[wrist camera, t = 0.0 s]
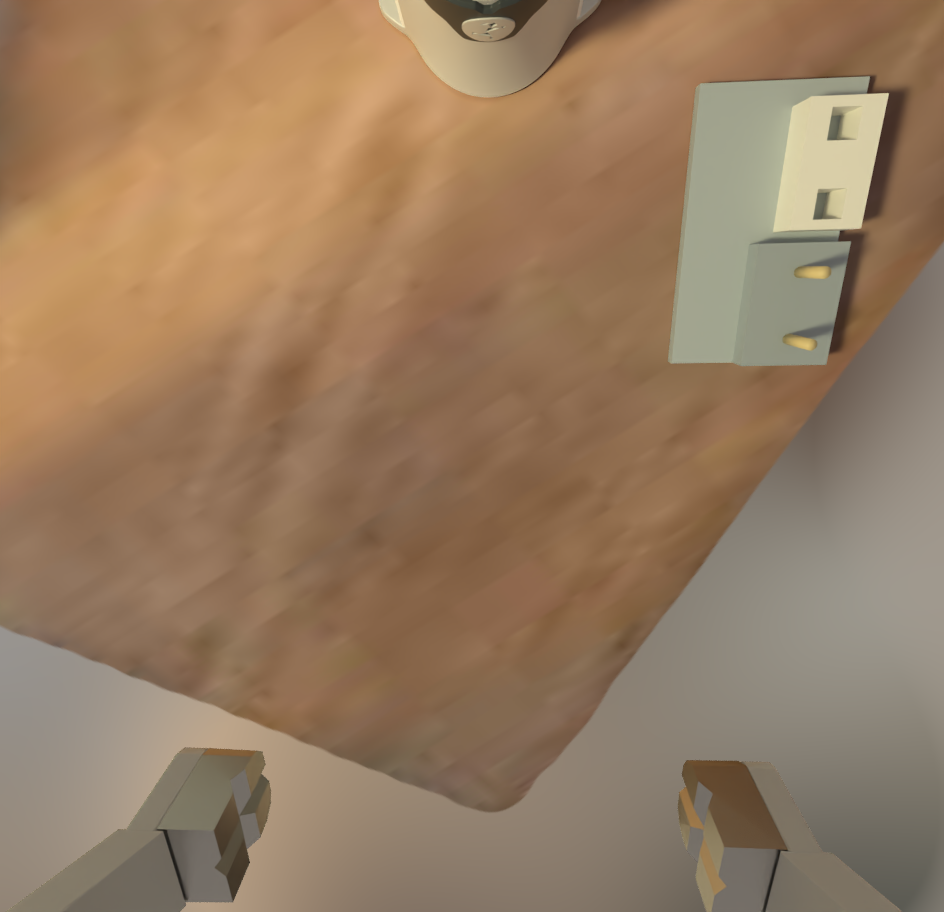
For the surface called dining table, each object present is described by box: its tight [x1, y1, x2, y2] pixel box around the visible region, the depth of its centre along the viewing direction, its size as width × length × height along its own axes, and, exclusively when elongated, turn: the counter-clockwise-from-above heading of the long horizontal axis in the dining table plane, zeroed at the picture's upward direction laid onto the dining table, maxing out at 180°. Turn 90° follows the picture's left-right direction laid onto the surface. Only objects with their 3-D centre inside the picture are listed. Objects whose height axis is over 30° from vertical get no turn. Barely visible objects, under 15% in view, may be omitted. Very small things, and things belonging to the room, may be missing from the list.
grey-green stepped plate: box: [668, 76, 870, 366], centre depth 47 cm, size 24×14×7 cm, turn 1°
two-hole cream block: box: [773, 93, 889, 232], centre depth 46 cm, size 10×6×3 cm, turn 1°
